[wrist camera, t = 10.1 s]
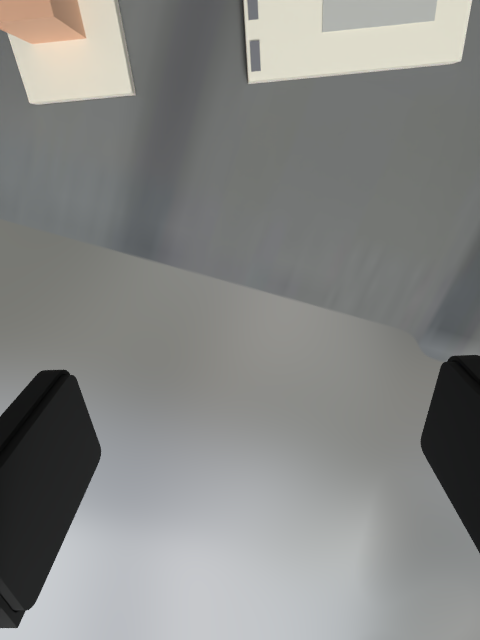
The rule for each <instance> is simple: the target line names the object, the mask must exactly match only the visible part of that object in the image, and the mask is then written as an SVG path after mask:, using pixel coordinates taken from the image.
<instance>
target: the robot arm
mask: <svg viewBox="0 0 480 640" xmlns="http://www.w3.org/2000/svg"><path fill="white" fill-rule="evenodd" d="M421 447H422V451H423V453H424V455H425V456H426V459H427V460H428V462H429V464H430V466H431V467H432V469H433V471H434V473H435V474H436V476H437V478H438V480H439V481H440V483H441V485H442V487H443V489H444V490H445V492H446V494H447V496H448V498H449V499H450V501H451V503H452V504H453V506H454V508H455V510H456V512H457V514H458V515H459V517H460V519H461V520H462V522H463V524H464V526H465V528H466V529H467V531H468V533H469V534H470V536H471V538H472V540H473V542H474V543H475V545H476V547H477V549H478V551H479V553H480V356H478V355H464V356H452V357H450V358H449V359H448V361H447V362H444V363H443V364H442V366H441V368H440V372H439V375H438V379H437V383H436V386H435V390H434V393H433V397H432V400H431V404H430V407H429V411H428V415H427V418H426V422H425V425H424V429H423V432H422V436H421ZM100 456H101V447H100V444H99V441H98V438H97V436H96V433H95V430H94V428H93V424H92V422H91V419H90V416H89V413H88V410H87V408H86V405H85V402H84V399H83V396H82V393H81V390H80V388H79V385H78V382H77V379H76V377H75V376H73V375H70V374H69V372H68V371H67V370H45V371H41V372H39V373H38V374H37V375H36V376H35V378H34V379H33V380H32V381H31V382H30V383H29V384H28V386H27V387H26V388H25V389H24V390H23V391H22V392H21V393H20V395H19V396H18V397H17V398H16V400H14V401H13V403H12V404H11V405H10V406H9V407H8V408H7V409H6V411H5V412H4V413H3V414H2V415H1V417H0V628H18V626H19V624H20V622H21V619H22V617H23V615H24V613H25V611H26V610H29V609H30V608H31V607H32V606H33V605H34V604H35V602H36V600H37V598H38V596H39V594H40V592H41V590H42V587H43V585H44V583H45V581H46V578H47V576H48V574H49V572H50V570H51V567H52V565H53V563H54V561H55V558H56V556H57V554H58V552H59V549H60V547H61V545H62V543H63V541H64V538H65V536H66V534H67V532H68V530H69V527H70V525H71V523H72V520H73V518H74V516H75V514H76V512H77V510H78V507H79V505H80V502H81V501H82V498H83V496H84V494H85V492H86V489H87V487H88V485H89V483H90V481H91V478H92V476H93V474H94V471H95V470H96V467H97V465H98V463H99V460H100Z"/></svg>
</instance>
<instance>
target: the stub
mask: <svg viewBox="0 0 480 640" xmlns="http://www.w3.org/2000/svg"><path fill="white" fill-rule="evenodd" d="M0 29H1V30H3V31H5V32H7V33H8V36H9V40H10V43H11V46H12V49H13V52H14V55H15V58H16V62H17V65H18V68H19V71H20V74H21V77H22V80H23V84H24V87H25V90H26V93H27V96H28V99H29V102H30V103H31V104H37V105H39V104H49V103H59V102H69V101H79V100H89V99H100V98H110V97H120V96H130V95H136V92H135V87H134V81H133V76H132V71H131V66H130V60H129V55H128V50H127V45H126V40H125V34H124V29H123V24H122V19H121V13H120V8H119V3H118V0H0Z"/></svg>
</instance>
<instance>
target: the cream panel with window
mask: <svg viewBox="0 0 480 640" xmlns="http://www.w3.org/2000/svg"><path fill="white" fill-rule="evenodd" d="M471 3H472V0H243V7H244V24H245V41H246V58H247V74H248V84H253V83H263V82H274V81H284V80H294V79H304V78H314V77H324V76H334V75H345V74H355V73H365V72H375V71H385V70H395V69H405V68H415V67H426V66H436V65H446V64H453V63H456V62H459V61H461V58H462V53H463V47H464V42H465V36H466V31H467V25H468V20H469V14H470V9H471Z"/></svg>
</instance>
